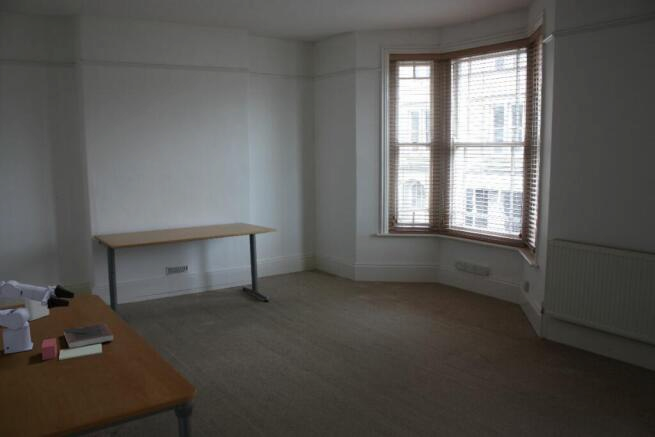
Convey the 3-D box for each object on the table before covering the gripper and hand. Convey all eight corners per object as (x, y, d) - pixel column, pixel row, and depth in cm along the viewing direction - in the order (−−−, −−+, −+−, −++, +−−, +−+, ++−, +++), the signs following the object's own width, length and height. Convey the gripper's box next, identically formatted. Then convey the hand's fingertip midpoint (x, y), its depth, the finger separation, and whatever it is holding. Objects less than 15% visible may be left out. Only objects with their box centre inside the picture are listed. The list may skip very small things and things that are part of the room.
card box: (55, 358, 216) (54, 345, 215) (42, 360, 214) (41, 347, 214) (57, 350, 224) (55, 338, 224) (44, 352, 223) (43, 340, 222)
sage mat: (59, 360, 213) (59, 358, 213) (60, 351, 223) (60, 349, 222) (102, 353, 219) (102, 351, 219) (101, 344, 228) (101, 343, 228)
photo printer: (31, 321, 262) (28, 295, 260) (25, 320, 264) (22, 294, 262) (51, 315, 271) (48, 289, 269) (45, 314, 273) (42, 288, 271)
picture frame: (64, 335, 242) (69, 349, 223) (63, 329, 242) (68, 342, 223) (105, 327, 250) (113, 340, 231) (104, 322, 250) (113, 334, 231)
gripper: (30, 291, 218) (68, 298, 221) (42, 277, 231) (77, 283, 234) (27, 308, 219) (65, 314, 222) (39, 292, 233) (74, 298, 236)
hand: (71, 299), depth 229 cm, fingers open, 7 cm apart
